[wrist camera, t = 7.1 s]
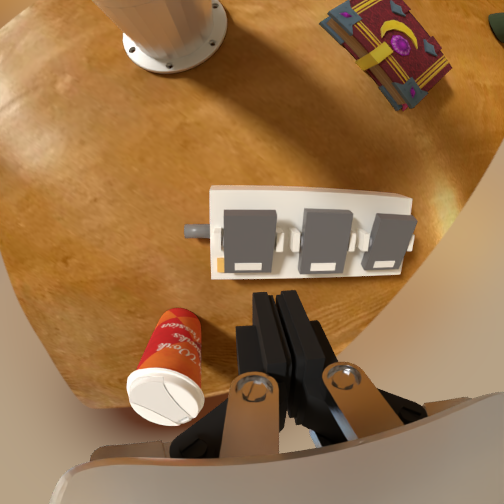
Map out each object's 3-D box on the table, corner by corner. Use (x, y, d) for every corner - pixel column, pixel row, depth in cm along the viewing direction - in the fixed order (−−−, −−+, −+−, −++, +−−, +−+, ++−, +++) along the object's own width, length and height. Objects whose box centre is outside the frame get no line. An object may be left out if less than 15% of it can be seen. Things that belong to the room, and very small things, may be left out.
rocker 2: (374, 211, 30) (380, 219, 28) (411, 213, 30) (418, 221, 29) (359, 262, 34) (363, 270, 32) (394, 261, 34) (399, 269, 33)
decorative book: (369, -7, 25) (384, -21, 21) (440, 78, 30) (461, 74, 25) (317, 25, 28) (329, 10, 23) (399, 118, 32) (420, 116, 28)
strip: (186, 186, 33) (177, 193, 27) (396, 193, 35) (422, 202, 30) (189, 265, 37) (182, 287, 31) (386, 263, 39) (408, 281, 33)
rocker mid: (302, 207, 29) (306, 212, 28) (349, 208, 30) (354, 213, 28) (296, 267, 33) (299, 274, 31) (339, 266, 33) (343, 273, 32)
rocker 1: (222, 208, 28) (222, 216, 27) (276, 208, 29) (278, 216, 27) (223, 264, 32) (223, 273, 31) (270, 263, 33) (272, 273, 32)
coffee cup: (221, 329, 40) (220, 411, 26) (180, 357, 41) (166, 436, 27) (180, 288, 38) (157, 363, 23) (139, 320, 39) (107, 395, 25)
